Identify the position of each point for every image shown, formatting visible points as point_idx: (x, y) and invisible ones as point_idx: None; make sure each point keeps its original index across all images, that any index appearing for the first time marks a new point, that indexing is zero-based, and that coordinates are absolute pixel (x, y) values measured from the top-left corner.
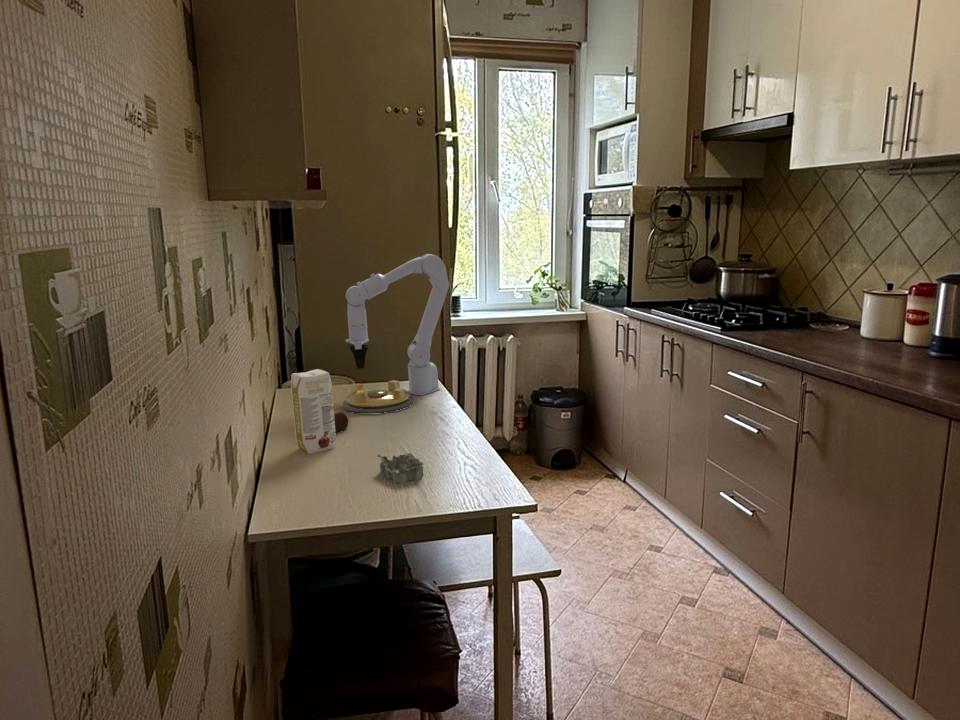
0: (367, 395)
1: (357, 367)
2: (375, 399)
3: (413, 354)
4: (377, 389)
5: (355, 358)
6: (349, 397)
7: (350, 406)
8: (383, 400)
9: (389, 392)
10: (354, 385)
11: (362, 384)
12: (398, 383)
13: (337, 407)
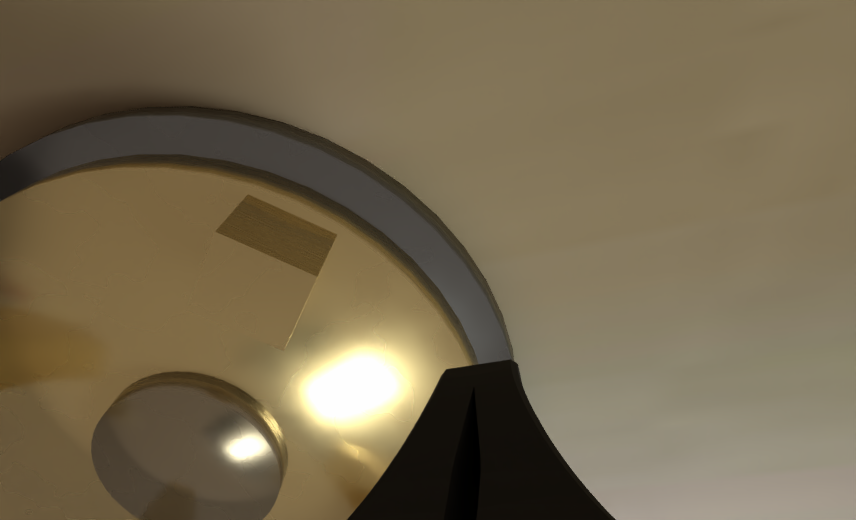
0: (175, 367)
1: (441, 382)
2: (53, 451)
3: None
4: (412, 412)
5: (375, 499)
6: (72, 215)
7: None
8: (37, 508)
9: (298, 517)
10: (208, 276)
11: (283, 348)
12: None
13: (82, 57)
